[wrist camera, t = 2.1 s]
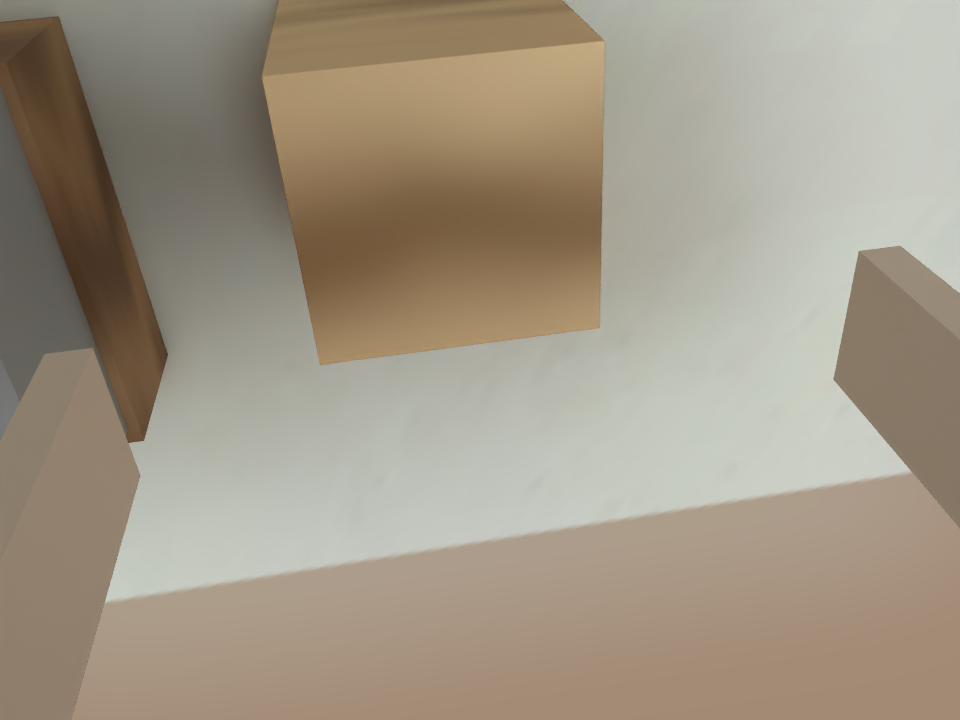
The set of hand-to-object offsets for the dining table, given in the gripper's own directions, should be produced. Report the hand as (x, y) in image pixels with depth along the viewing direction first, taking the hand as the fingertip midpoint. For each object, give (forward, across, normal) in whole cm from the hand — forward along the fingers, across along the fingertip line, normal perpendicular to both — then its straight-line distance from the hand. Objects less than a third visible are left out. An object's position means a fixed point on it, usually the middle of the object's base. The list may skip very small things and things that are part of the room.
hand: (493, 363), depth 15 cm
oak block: (+14, 0, 0) cm, 14 cm away
